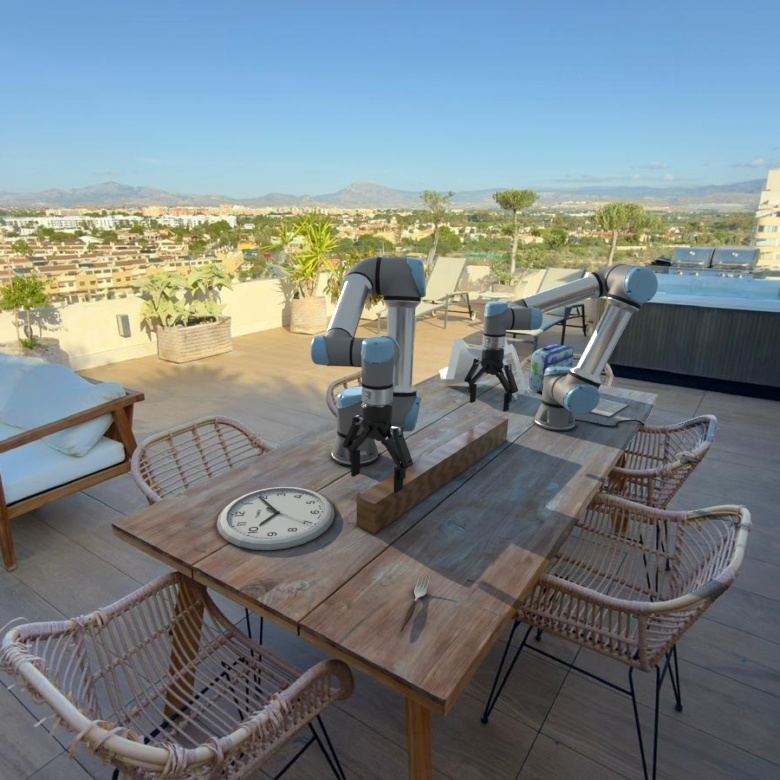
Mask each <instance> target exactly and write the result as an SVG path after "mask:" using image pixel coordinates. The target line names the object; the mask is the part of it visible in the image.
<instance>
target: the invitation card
mask: <svg viewBox="0 0 780 780" xmlns="http://www.w3.org/2000/svg"><path fill="white" fill-rule="evenodd" d="M628 406H629V404H627V403H623V402H618V401H614V400H609V399H605V398H601V397H600V400H599V403H598V405H597V406H596V407H595V408H594V409H593V410H592V411H591V412H590V413H593V414H596V415H600V416H604V417H608V418H609V417H611V416H613V415H614V414H616V413H617V412H619V411H621V410H623V409H624V408H626V407H628Z"/></svg>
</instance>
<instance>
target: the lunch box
mask: <svg viewBox="0 0 780 780" xmlns="http://www.w3.org/2000/svg"><path fill="white" fill-rule="evenodd" d="M530 359H531V360H530V366H529V377H528V379H529V380H528V387H529V390H531V391H536V392H541V393H542V391H543V381H544V373H545V370H546V368H548V367H571V368H573V363H574V347H572V346H568V345H562V344H551V345H547V346H545V347H541V348H539V349H536V350H534V352H533V353H532V355H531V358H530Z"/></svg>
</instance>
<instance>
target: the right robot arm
mask: <svg viewBox="0 0 780 780" xmlns="http://www.w3.org/2000/svg"><path fill="white" fill-rule="evenodd" d="M658 288H659V281H658V278H657V274H656V273H655V272H654V271H653V270H652V269H650V268H649V267H645V266H642V265H634V264H626V263H616V264H612V265H608V266H605V267H603V268H600V269H597V270H593V271H591V272H588V273H587V274H586V275H585V277H582V278H579V279H576V280H573V281H571V282H567V283H564V284H561V285H558V286H556V287H552V288H550V289H547V290H544V291H540V292H537V293H535V294H532V295H528V296H525V297H522V298H519V299H516V300H513V301H511V300H506V301H497V300H494V301H493V300H492V301H488V302H486V304H485V307H484V313H483V331H482V342H481V343H482V344H481V345H482V346H483V348H482V360H481V359H480V358H475V359H474V360H473V365H472V367H471V369H470V370H469V372H468V374H467V376H466V378H465V380H464V381H465V382H467V383H466V384H468V393H469V403H470V404H474V403H475V402H477V386H478V385H477V383H476V381H477V380H478V379H479V378H480V377H481V376H482V375H483V374H484V373H485V372H486V374H487V375H491V376H495V377H496V378H497V379H498V381H499V382H500V384H501V386H502V387H503V389H504V391H505V393H504V394H503V406H502V408H503V409H502V412H503V413H506V412H508V411H510V403H512V402H513V395H512V394H513V393H516V394H517V393H518V392H519V387H518V386H517V381H516V379H515V376H514V373H513V369H512V368H513V367H512V364H511V363H507V364H503V359H504V349H503V348H504V347H505V337H506V333H507V331H538V330H539V329H541V327H542V324H543V320H544V317H543V316H544V315H543V314H545V313H548V312H551V311H555V310H557V309H561V308H563V307H566V306H569V305H573V304H576V303H579V302H582V301H584V300H588V299H593V300H596V299H599V298H604V297H605V300H606V303H607V305H606V307H605V308H604V311H603V312H602V315H601V317H600V319H599V320H598V322H597V324H596V326H595V329H594V331H593V333H592V335H591V336H590V339H589V341H588V343H587V344H586V346H585V349H584V351H583V353H582V355H580V358H579V361H578V362H577V364H576V366H575V367H572V368H571V367H548V368H546V370H545V373H544V381H543V391H542V392H541V393H542V394H541V402H540V405H539V407H538V410H537V411H536V413H535V417H534V424H535V425H536V426H537V427H539V428H542V429H544V430H549V431H556V432H567V431H572V430H574V429H575V428H576V422H579V423H586V424H591V425H597V426H600V427H604V428H605V427H606V428H616V427H618V426H619V423H627V422H635V423H639V424H640V425H642V426H646V424H645V423H644V422H642V421H641V420H638V419H622V420H621V419H620V420H618V421H617V422H616V423H615V424H613V425H612V424H610V425H609V424H604V423H600V422H594V421H588V420H584V419H583V420H582V419H576V418H575V417H576V416H575V415H586V414H588V413H592V412H591V411H592V410H593V409H594V408H595V407H596V406H597V405H598V403H599V400H600V398H601V396H600V391H599V388H600V387H601V385H602V380H601V375H602V373H603V371H604V369H605V368H606V365H607V363H608V362H609V360H610V358H611V356H612V353H613V352H614V350H615V348H616V346H617V344H618V342H619V340H620V338H621V336H622V334H623V332H624V330H625V329H626V327H627V325H628V323H629V321H630V319H631V317H632V316H633V314H635V313H637V312H639V311H640V309H641V307H642V306H643V304H645V303H647V302H649V301H651V300H652V299H653V298H654V297H655V295H656V293H657V292H658ZM480 363H481V365H482V368H481V369H480V370H479V372H478V373H477V374H476V375H475V376H474V377H473V375H474V373H475V371H476V370H477V368H478V366H479V365H480ZM503 368H504V370H505V373H504V370H503ZM505 374H506V377H507V379H506V377H505ZM472 377H473V378H472ZM507 380H508V381H507Z"/></svg>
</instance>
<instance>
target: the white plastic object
mask: <svg viewBox="0 0 780 780" xmlns="http://www.w3.org/2000/svg"><path fill="white" fill-rule="evenodd" d="M482 348H483V346H482V344H479V345H473V346H469V345H468V343H466V342H465V340H464V339H463V338H460V339H458V338H454V340H453V344H452V349H451V353H450V357H449V362H448V366H446V367H444V368H442V369H440V370H439V371H438V372H439V376H440V381H442V383H443V384H444V385H445V386H449V385H458V384H468V383H467V382H465V381H464V380H465V378H466V376H467V374H468V372H469V370H470V369H471V367H472V365H473V360H474V359H475V358H480V359H481V360H482ZM503 349H504V359H503V364H507V365H508V361H510V360H513V363H514V366H515V369H516V372H517V376H518V380H519V382H520V385H521V389H522V391H523V393H524V395H525V396H526V397H528V396H531V395H530V389H529V388H528V387H529V386H528V384H527V381H526V378H525V375H524V371H523V369H522V368H523V367H522V366H521V362H520V359H519V355H518V352H517V349H516V347H515V346H514V345H513V343H511V344H508V341H507V337H506V336H505V347H504V348H503ZM481 368H482V365H481V363H480V365H479V366H478V368H477V370H476V371H475V373H474V375H473V377H474V376H475V375H476V374H477V373H478V372H479V370H480V369H481ZM502 371H503V372H504V376H505V377H506V374H505V370H504V368H502ZM487 375H488V374H486V372H485V373H484V374H483V375H482V376H481V377H480V378H479V379H478V380H477V381H476V383H475V384H477V383H480V382H482V381H484V378H485V377H486V376H487ZM473 377H472V378H473ZM506 379H507V377H506ZM507 381H508V380H507ZM512 397H513V398H514V399H515V400H517V392H516V393H513V394H512Z"/></svg>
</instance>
